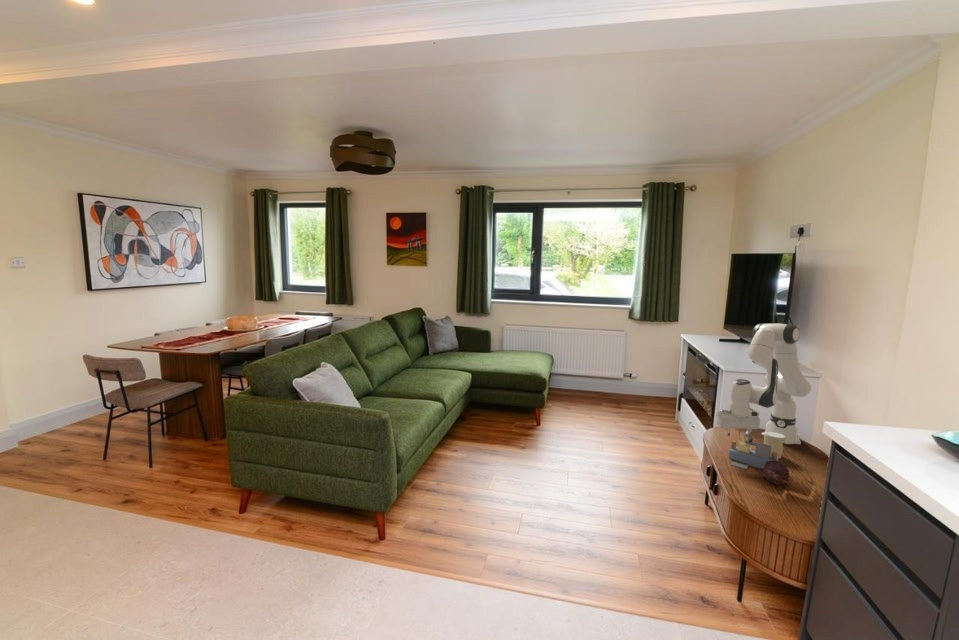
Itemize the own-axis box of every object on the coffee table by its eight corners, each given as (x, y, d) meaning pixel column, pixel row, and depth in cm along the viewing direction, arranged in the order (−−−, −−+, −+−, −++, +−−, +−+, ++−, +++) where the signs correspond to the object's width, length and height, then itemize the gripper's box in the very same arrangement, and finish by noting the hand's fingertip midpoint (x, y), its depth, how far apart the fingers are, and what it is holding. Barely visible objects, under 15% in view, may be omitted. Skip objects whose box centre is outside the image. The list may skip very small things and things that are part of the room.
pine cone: (757, 471, 207) (759, 452, 206) (781, 475, 203) (783, 456, 202) (767, 488, 190) (769, 467, 189) (793, 493, 187) (796, 471, 186)
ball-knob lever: (745, 442, 219) (746, 434, 218) (763, 446, 213) (764, 438, 213) (744, 443, 217) (745, 435, 217) (763, 448, 212) (764, 439, 211)
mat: (733, 461, 217) (733, 460, 217) (749, 466, 213) (749, 465, 213) (730, 465, 213) (730, 464, 213) (746, 469, 208) (746, 469, 208)
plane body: (732, 454, 226) (734, 435, 225) (777, 466, 212) (779, 446, 211) (728, 459, 220) (730, 439, 219) (774, 472, 207) (776, 451, 205)
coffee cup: (786, 460, 220) (789, 438, 218) (766, 458, 222) (769, 437, 220) (777, 453, 229) (780, 432, 228) (758, 451, 231) (761, 430, 229)
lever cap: (739, 448, 222) (740, 441, 221) (751, 451, 219) (751, 443, 218) (737, 451, 218) (738, 443, 218) (749, 454, 215) (749, 446, 214)
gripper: (721, 411, 216) (719, 437, 218) (762, 413, 215) (760, 439, 217) (715, 407, 223) (713, 432, 224) (755, 409, 221) (753, 434, 223)
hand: (736, 436), depth 220 cm, fingers open, 8 cm apart
